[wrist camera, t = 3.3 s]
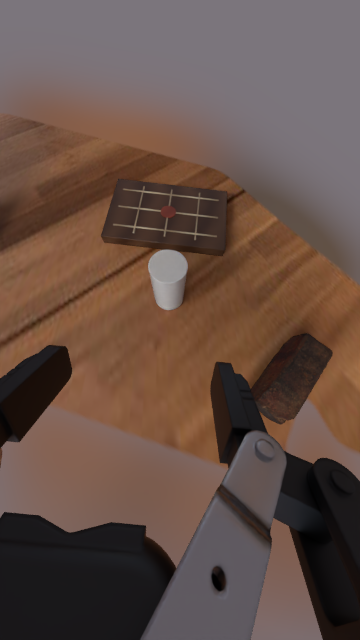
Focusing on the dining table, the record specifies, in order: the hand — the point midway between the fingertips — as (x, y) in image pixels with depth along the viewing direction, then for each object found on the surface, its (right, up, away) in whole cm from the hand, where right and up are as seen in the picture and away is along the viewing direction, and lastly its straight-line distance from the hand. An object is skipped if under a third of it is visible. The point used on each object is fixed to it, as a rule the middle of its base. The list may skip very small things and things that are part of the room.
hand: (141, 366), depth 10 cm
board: (0, +20, +22) cm, 30 cm away
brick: (+15, -5, +15) cm, 22 cm away
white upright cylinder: (+1, +6, +18) cm, 19 cm away
